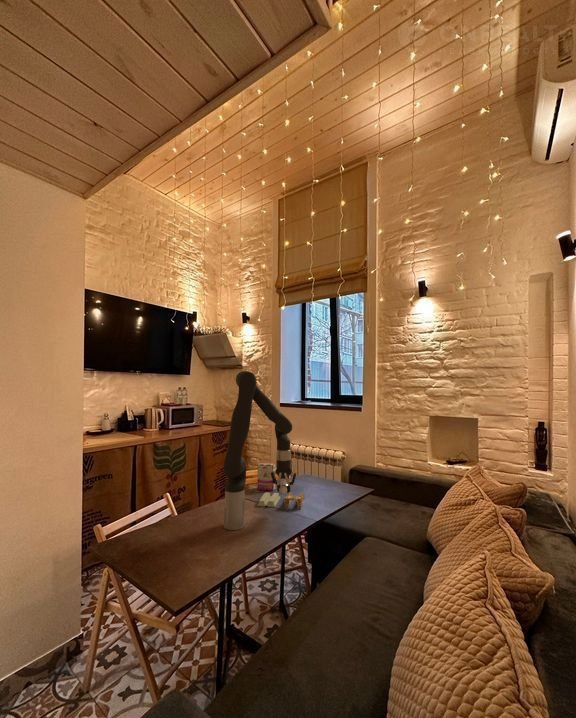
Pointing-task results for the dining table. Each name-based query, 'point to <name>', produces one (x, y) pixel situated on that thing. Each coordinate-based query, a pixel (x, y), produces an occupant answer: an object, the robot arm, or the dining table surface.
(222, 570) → the dining table surface
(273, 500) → the axle cradle
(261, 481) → the candy bar box
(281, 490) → the steel axle
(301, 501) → the bore block
